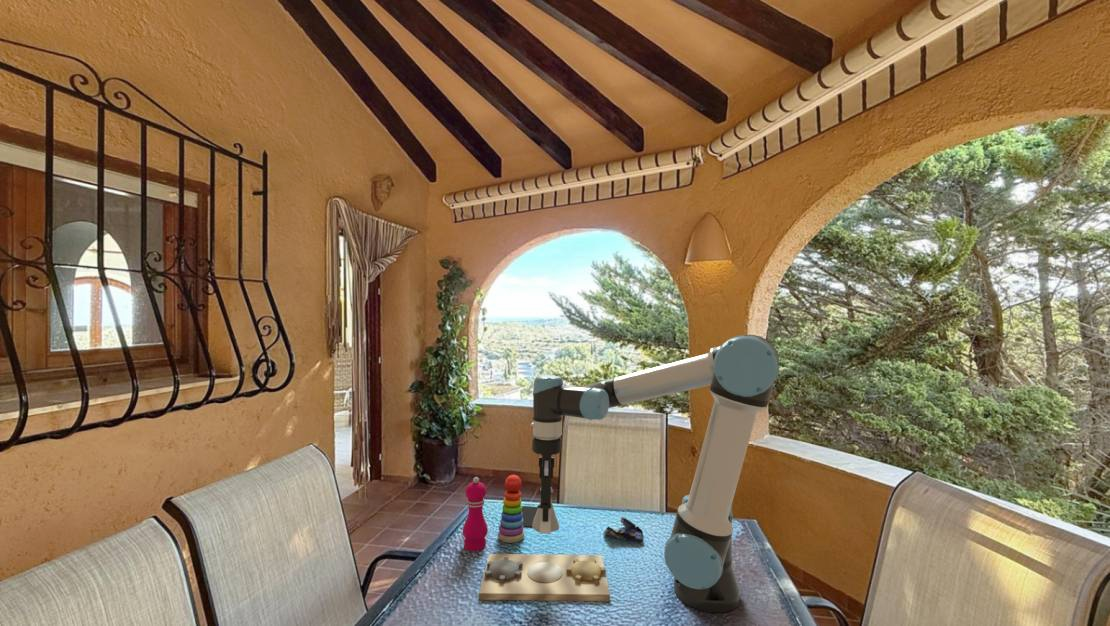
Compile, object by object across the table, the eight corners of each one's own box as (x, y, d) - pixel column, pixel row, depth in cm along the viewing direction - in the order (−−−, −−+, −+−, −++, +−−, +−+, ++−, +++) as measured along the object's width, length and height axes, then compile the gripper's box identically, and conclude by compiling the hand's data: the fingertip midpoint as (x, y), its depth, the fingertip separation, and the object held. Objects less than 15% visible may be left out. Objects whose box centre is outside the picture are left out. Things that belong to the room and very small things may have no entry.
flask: (535, 535, 112) (536, 494, 112) (528, 522, 119) (529, 484, 119) (563, 531, 114) (564, 491, 114) (554, 519, 121) (555, 481, 121)
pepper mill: (490, 549, 130) (491, 479, 131) (464, 554, 128) (466, 482, 128) (484, 538, 137) (485, 471, 137) (460, 542, 134) (461, 474, 135)
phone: (510, 524, 146) (521, 505, 161) (510, 527, 146) (521, 507, 161) (533, 526, 145) (542, 507, 159) (533, 529, 145) (542, 509, 159)
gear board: (601, 560, 125) (601, 550, 125) (609, 601, 107) (609, 589, 107) (489, 559, 125) (489, 549, 125) (478, 599, 107) (478, 588, 107)
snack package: (615, 525, 148) (597, 538, 138) (619, 506, 147) (601, 518, 138) (649, 542, 141) (633, 557, 131) (653, 523, 141) (637, 536, 131)
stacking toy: (520, 545, 133) (521, 481, 133) (494, 542, 135) (495, 479, 135) (527, 533, 141) (528, 472, 141) (502, 530, 142) (503, 470, 143)
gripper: (533, 426, 127) (532, 509, 126) (530, 446, 107) (528, 545, 107) (560, 427, 127) (559, 510, 126) (562, 447, 107) (560, 545, 107)
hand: (545, 525), depth 117 cm, fingers closed on flask, 7 cm apart
